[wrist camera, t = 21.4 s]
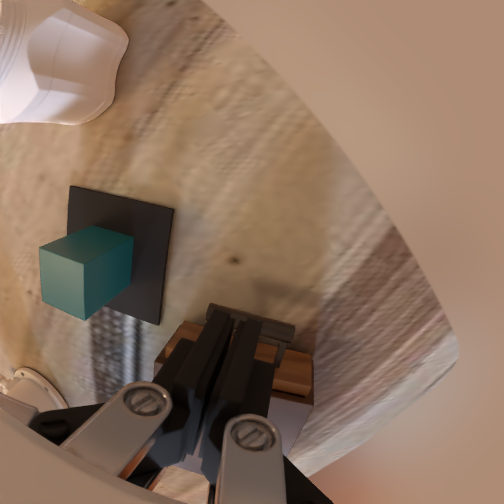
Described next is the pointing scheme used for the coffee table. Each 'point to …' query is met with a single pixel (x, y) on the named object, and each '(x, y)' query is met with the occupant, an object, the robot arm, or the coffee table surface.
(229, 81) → the coffee table surface
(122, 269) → the box
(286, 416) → the cabinet
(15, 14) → the jar
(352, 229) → the coffee table surface
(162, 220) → the mat
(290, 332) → the drawer
